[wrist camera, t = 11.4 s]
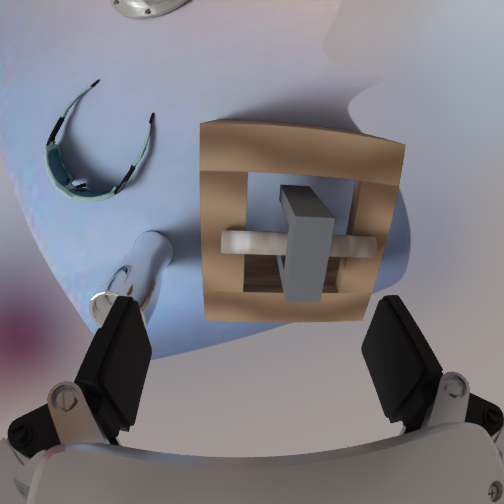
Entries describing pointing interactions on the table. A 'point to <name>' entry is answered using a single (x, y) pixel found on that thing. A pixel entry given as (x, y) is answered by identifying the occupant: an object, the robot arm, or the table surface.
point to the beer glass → (135, 277)
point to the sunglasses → (64, 179)
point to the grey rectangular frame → (304, 244)
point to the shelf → (290, 157)
